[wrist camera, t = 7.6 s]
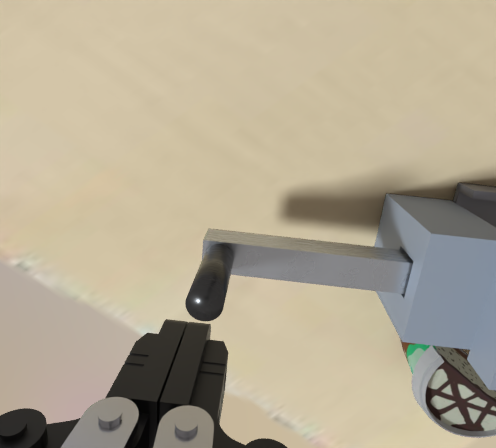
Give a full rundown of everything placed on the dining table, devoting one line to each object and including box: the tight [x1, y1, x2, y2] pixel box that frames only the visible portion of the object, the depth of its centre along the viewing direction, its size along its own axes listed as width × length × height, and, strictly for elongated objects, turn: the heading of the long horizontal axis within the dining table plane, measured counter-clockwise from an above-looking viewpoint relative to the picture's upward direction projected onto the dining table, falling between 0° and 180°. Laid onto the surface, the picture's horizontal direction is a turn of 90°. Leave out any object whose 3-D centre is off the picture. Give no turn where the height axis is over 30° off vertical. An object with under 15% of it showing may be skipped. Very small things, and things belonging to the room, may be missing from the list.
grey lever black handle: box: [186, 229, 414, 321], centre depth 32 cm, size 3×25×11 cm, turn 84°
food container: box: [400, 338, 496, 438], centre depth 43 cm, size 12×6×10 cm, turn 51°
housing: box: [375, 193, 496, 390], centre depth 36 cm, size 12×7×16 cm, turn 174°
